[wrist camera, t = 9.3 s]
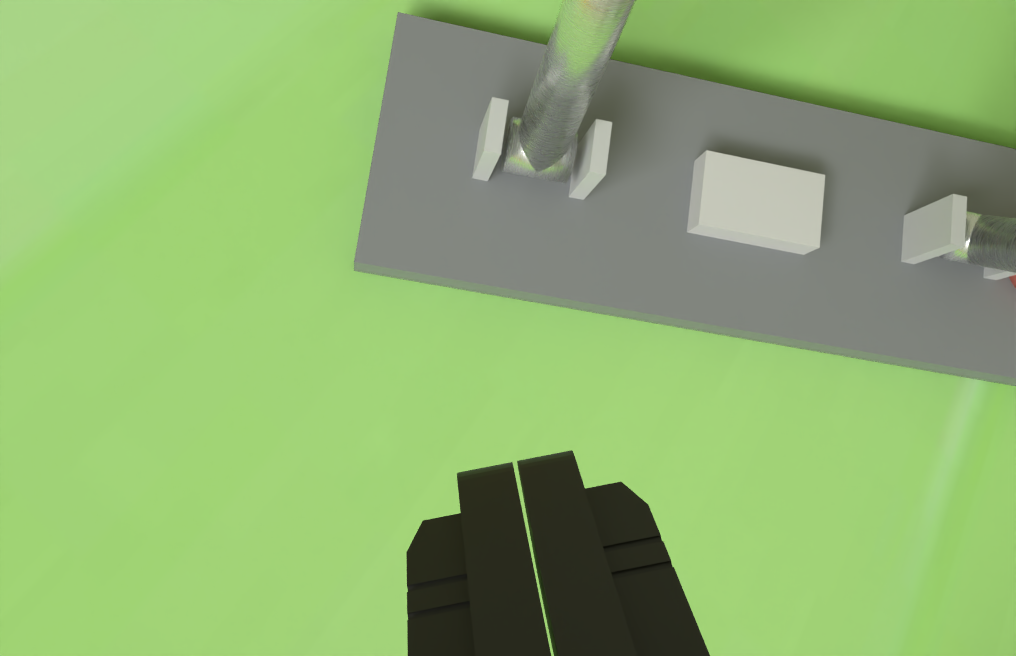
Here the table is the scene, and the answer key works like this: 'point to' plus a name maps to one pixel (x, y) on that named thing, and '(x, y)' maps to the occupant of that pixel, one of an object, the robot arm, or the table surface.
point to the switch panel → (691, 208)
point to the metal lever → (564, 89)
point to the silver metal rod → (987, 242)
